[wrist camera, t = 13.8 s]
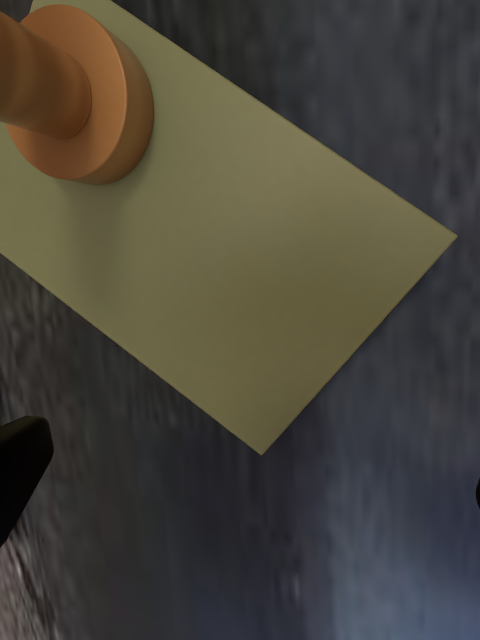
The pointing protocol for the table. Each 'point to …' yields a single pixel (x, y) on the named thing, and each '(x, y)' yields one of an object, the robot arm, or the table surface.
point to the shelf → (220, 243)
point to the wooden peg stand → (73, 95)
